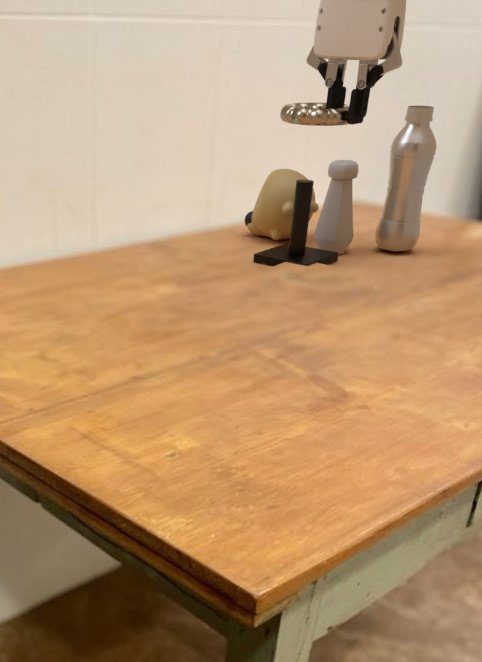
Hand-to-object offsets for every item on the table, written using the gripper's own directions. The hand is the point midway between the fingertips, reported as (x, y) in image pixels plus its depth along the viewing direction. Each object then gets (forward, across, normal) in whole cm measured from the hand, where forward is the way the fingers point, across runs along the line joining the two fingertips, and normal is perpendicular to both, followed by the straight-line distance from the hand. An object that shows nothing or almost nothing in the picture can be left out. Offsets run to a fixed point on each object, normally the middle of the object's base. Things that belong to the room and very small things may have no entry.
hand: (344, 121), depth 106 cm
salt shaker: (+20, +5, -11) cm, 23 cm away
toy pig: (+20, +16, -13) cm, 28 cm away
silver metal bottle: (+20, -2, -18) cm, 27 cm away
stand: (+19, +6, -2) cm, 20 cm away
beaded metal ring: (-1, +4, 0) cm, 4 cm away
